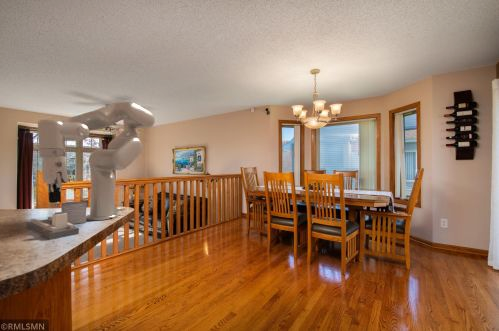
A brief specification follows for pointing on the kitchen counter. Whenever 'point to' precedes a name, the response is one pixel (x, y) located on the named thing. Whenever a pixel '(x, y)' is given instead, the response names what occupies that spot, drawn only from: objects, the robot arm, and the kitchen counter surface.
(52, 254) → the kitchen counter surface
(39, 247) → the kitchen counter surface
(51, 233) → the console board
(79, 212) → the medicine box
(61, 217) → the fader tab
